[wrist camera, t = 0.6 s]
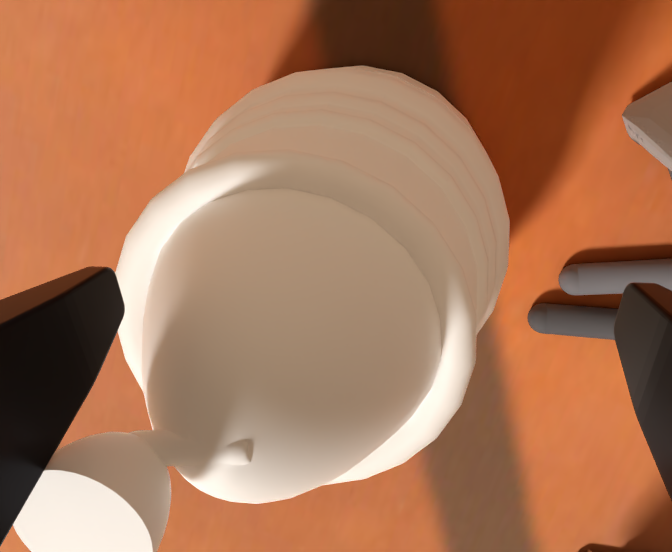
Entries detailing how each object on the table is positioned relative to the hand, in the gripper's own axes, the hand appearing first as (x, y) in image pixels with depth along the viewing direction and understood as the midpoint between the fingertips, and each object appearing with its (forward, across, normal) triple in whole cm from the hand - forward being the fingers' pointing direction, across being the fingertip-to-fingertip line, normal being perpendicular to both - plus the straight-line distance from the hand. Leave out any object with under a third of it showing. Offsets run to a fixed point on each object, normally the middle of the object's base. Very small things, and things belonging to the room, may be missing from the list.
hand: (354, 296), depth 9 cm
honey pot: (+15, +2, +5) cm, 16 cm away
